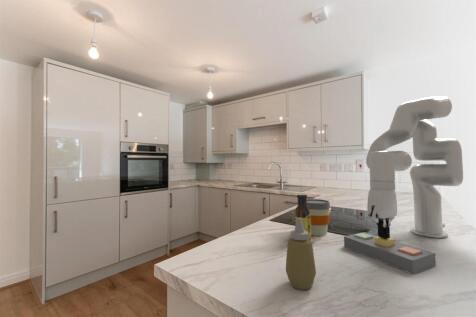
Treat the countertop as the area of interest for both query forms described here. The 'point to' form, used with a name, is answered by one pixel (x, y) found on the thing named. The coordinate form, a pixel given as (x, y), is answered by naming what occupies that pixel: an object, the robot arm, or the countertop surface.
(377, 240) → the ochre key
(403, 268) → the console
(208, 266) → the countertop surface
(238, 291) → the countertop surface
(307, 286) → the squeeze bottle
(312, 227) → the reusable coffee cup
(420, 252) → the terracotta key
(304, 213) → the sauce bottle
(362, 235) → the sage key
